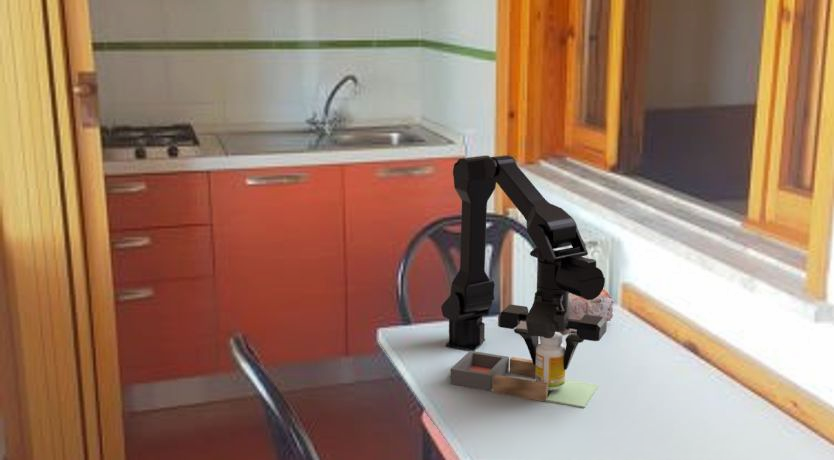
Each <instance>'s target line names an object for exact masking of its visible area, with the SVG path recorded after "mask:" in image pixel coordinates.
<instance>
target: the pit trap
mask: <svg viewBox="0 0 834 460" xmlns="http://www.w3.org/2000/svg"><path fill="white" fill-rule="evenodd" d="M449 370H450V371H449V372H450V373H449V374H450V376H449V377H450V379H449V382H450V385H455V386H460V387H465V388H471V389H472V388H473V389H476V390H477V389H478V390H482V391H483V390H484V391H487V392H488V391H489V392H492V391H493V376H494V375H495V374H496V375H502V376H506V375H507V374H508V373H510V356H506V355H500V354H493V353H488V352H487V353H486V352H481V351H475V350H468V352H466V354H464V356H462V357H461V359H459V360H458V361H457V362H456V363H455V364H454V365H453V366H452V367H451V368H450V369H449Z"/></svg>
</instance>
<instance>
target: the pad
mask: <svg viewBox="0 0 834 460" xmlns="http://www.w3.org/2000/svg"><path fill="white" fill-rule="evenodd" d="M598 388H599V384H594V383H589V382H581V381H576V380H569V379H565V385H564V386H563V387H562V388H560V389H556V390H551V392H550V394H548V397H547V399H546V401H545V402H549V403H554V404H559V405H560V404H561V405H566V406H572V407H577V408H582V409H584V408H586V406H587V405H588V404H589V402H590V400H591V399H592V397H593V396H594V394H595V393H596V391H597V390H598Z"/></svg>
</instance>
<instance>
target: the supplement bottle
mask: <svg viewBox="0 0 834 460" xmlns="http://www.w3.org/2000/svg"><path fill="white" fill-rule="evenodd" d="M539 342H540V343H538V346H537V348H536V371H535V378H534V381H537V382H543V383H548V391H553V390H556V389H560V388H562V387H563V386H564V385H565V380H566V370H564V358H565V351H566V346H564V345H563V344H562V343H563V334H561V333H559V332H555V334H554V336H553V337H552V338H544V337H541V336H539Z"/></svg>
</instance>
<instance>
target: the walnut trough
mask: <svg viewBox="0 0 834 460" xmlns="http://www.w3.org/2000/svg"><path fill="white" fill-rule="evenodd" d="M535 371H536V365H534V364H533V361H532V359H526V358H521V357H514V356H511V357H509V375H515V376H522V377H527V378H532V379H535ZM492 393H497V394H502V395H507V396H512V397H519V398H523V399H524V398H525V399H529V400H536V401H540V402H541V401H542V402H547V401H546V399H547V397H548V396H549V394H548V393H549V390H548V383H543V382H537V381H535V380H529V379H524V378H519V377H512V376H506V375H505V376H502V375H496V374H495V375H494V376H493V389H492Z"/></svg>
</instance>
